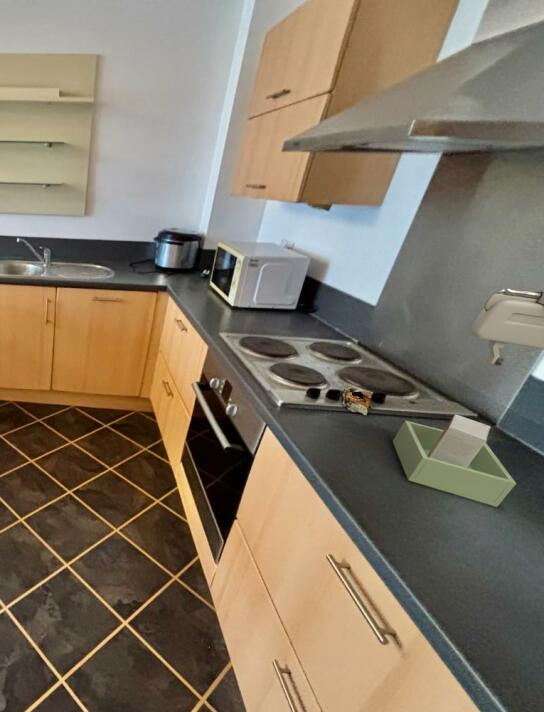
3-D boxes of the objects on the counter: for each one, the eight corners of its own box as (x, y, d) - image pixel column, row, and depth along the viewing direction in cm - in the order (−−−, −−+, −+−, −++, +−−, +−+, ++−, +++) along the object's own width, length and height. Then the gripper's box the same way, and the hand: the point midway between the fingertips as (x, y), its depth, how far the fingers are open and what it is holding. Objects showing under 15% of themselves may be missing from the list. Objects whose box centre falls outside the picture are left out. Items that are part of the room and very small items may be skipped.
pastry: (344, 411, 107) (350, 399, 105) (337, 391, 116) (342, 380, 115) (377, 419, 104) (383, 407, 102) (366, 398, 114) (372, 386, 112)
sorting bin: (468, 462, 90) (484, 440, 87) (496, 507, 78) (516, 483, 75) (392, 441, 95) (405, 420, 93) (407, 480, 83) (422, 457, 80)
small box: (428, 453, 90) (454, 413, 85) (462, 467, 87) (491, 425, 82) (420, 467, 86) (448, 426, 81) (456, 482, 82) (487, 440, 77)
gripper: (502, 290, 71) (459, 362, 78) (682, 313, 63) (616, 392, 69) (488, 282, 76) (448, 351, 83) (653, 303, 68) (594, 378, 74)
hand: (526, 370), depth 76 cm, fingers open, 8 cm apart
